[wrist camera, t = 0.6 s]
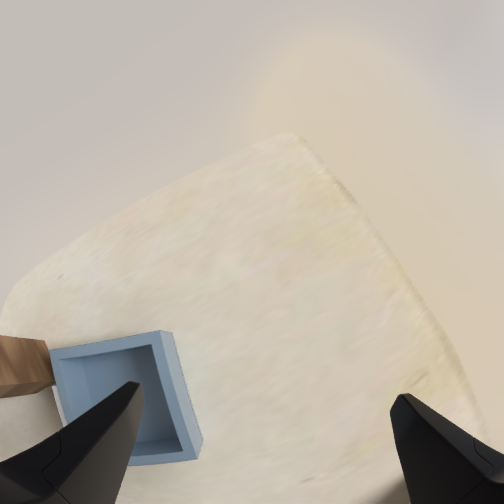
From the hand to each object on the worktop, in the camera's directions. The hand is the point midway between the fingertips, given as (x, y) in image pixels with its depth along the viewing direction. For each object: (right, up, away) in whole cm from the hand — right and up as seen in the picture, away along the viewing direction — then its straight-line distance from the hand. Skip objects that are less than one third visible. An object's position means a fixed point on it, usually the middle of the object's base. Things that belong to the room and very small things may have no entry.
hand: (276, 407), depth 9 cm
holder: (-11, -7, +12) cm, 18 cm away
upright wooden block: (-21, -6, +12) cm, 25 cm away
